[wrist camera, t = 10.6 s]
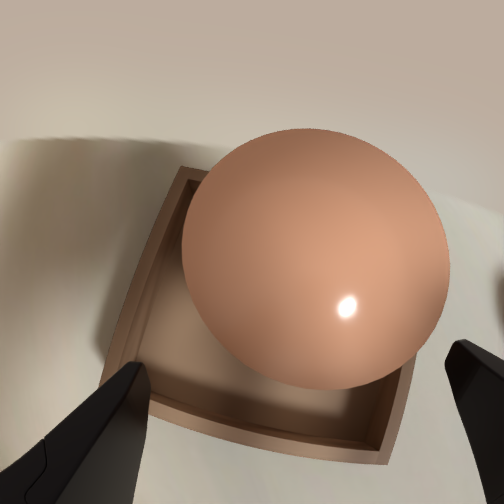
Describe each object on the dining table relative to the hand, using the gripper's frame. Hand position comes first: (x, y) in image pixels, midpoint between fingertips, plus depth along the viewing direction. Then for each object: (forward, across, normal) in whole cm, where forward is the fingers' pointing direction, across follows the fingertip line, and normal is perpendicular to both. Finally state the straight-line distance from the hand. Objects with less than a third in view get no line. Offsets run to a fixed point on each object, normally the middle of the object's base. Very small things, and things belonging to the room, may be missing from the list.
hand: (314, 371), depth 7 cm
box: (+9, 0, +5) cm, 10 cm away
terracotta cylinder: (+9, 0, +5) cm, 10 cm away
